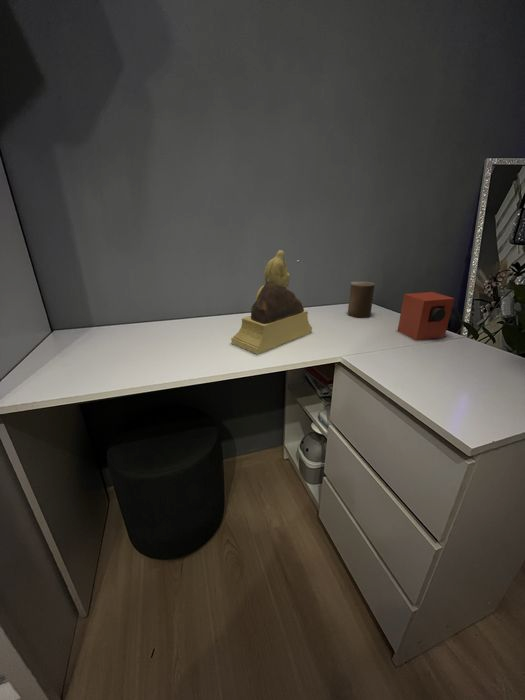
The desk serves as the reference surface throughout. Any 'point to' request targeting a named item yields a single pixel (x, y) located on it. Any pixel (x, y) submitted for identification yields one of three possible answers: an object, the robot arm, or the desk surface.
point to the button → (437, 314)
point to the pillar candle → (361, 299)
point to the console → (424, 315)
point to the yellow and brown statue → (273, 313)
